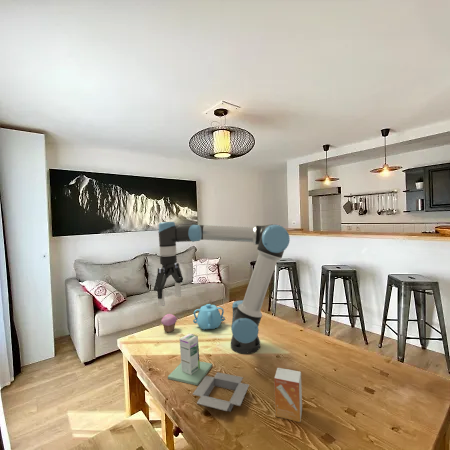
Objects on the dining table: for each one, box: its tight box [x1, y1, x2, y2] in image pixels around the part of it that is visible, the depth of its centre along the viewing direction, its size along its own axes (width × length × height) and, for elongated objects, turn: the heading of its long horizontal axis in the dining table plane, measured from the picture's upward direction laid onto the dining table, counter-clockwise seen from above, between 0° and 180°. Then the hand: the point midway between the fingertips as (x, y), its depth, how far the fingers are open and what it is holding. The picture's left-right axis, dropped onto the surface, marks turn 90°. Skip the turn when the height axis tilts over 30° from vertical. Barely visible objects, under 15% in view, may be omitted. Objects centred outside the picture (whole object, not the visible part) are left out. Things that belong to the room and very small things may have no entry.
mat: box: [167, 360, 213, 387], centre depth 108 cm, size 14×14×1 cm
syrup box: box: [179, 332, 200, 375], centre depth 108 cm, size 6×6×14 cm
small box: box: [273, 367, 303, 423], centre depth 83 cm, size 8×6×13 cm
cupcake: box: [160, 313, 178, 333], centre depth 150 cm, size 9×9×10 cm
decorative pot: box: [193, 303, 226, 331], centre depth 154 cm, size 16×16×14 cm
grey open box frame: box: [192, 372, 250, 413], centre depth 92 cm, size 18×18×3 cm
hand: (170, 300), depth 116 cm, fingers open, 13 cm apart
